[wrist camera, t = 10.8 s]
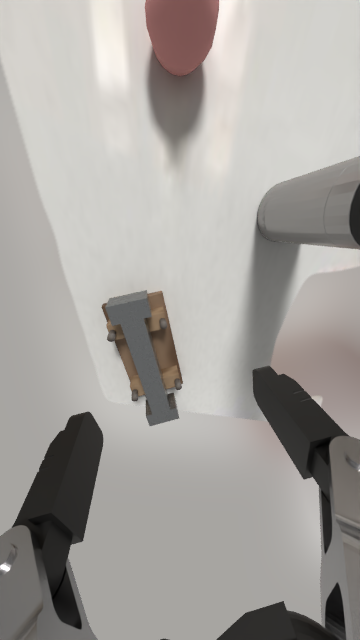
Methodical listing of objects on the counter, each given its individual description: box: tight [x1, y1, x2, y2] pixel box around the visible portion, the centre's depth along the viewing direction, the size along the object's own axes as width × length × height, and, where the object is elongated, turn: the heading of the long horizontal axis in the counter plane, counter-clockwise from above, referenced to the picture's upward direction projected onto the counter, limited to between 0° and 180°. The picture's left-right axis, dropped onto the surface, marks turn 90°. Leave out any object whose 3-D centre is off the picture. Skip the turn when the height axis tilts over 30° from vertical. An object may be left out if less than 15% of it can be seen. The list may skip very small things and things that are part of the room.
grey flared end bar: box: [105, 290, 179, 426], centre depth 35 cm, size 6×26×4 cm, turn 10°
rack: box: [102, 291, 183, 401], centre depth 38 cm, size 11×22×6 cm, turn 10°
